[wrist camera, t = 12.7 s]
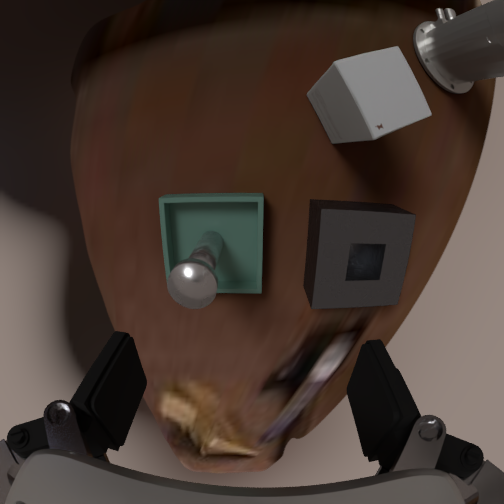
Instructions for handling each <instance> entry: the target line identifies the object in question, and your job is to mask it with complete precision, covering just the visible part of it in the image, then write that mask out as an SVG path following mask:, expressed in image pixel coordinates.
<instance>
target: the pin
mask: <svg viewBox="0 0 504 504" xmlns="http://www.w3.org/2000/svg"><path fill="white" fill-rule="evenodd" d="M222 247H223V238H222V236H221V235H220V234H219V233H218V232H215V231H207V232H205V233H204V234H203V235H202V236H201V238H200V240H199V241H198V243H197V245H196V246H195V248H194V250H193V251H192V253H191V255H190V256H189V258H188V259H185V260H182V261H180V262H179V263H177V264H176V265H175V267H174V268H173V270H172V271H171V273H170V274H169V277H168V280H167V287H168V291H169V293H170V295H171V297H172V298H173V299H174V300H175V301H176V302H177V303H178V304H180V305H182V306H184V307H187V308H191V309H199V308H203V307H206V306H207V305H209V304H210V303H211V302H212V301H213V300H214V298H215V296H216V292H217V288H218V277H217V274H216V272H215V269H216V266H217V263H218V259H219V256H220V253H221V250H222Z"/></svg>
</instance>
